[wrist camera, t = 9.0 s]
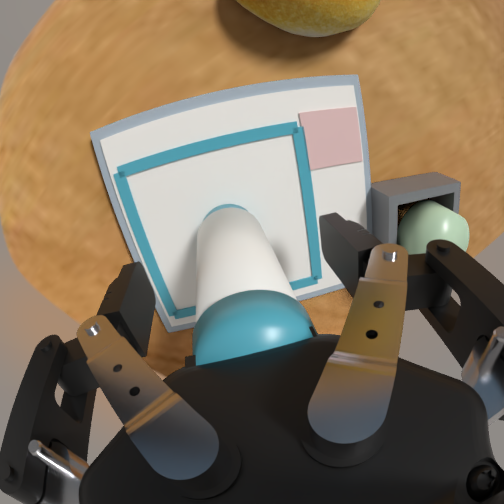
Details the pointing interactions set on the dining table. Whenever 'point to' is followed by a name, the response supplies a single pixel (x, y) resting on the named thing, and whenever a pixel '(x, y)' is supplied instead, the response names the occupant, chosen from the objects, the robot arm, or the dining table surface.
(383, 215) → the button housing
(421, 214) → the button
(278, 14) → the bread roll
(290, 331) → the marker
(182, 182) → the white square board
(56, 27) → the dining table surface
